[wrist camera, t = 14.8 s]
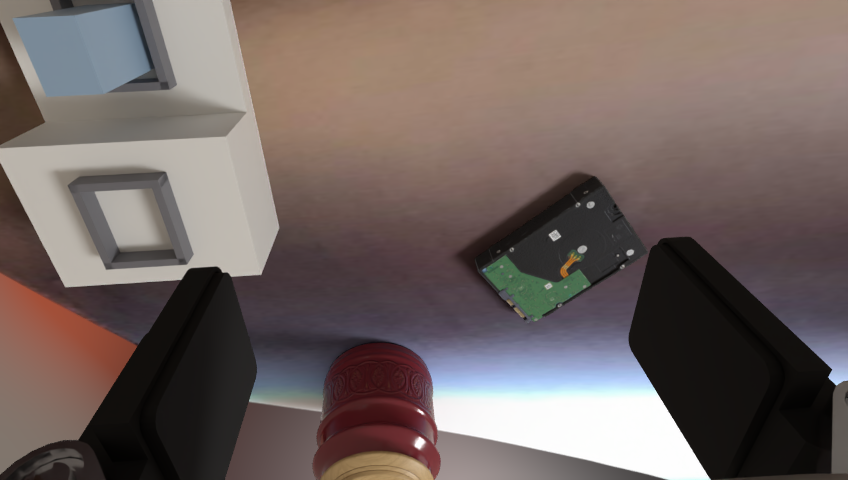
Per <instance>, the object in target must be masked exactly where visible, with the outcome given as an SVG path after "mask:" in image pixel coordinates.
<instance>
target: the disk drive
mask: <svg viewBox="0 0 848 480" xmlns="http://www.w3.org/2000/svg"><path fill="white" fill-rule="evenodd" d="M647 253H648V251H647V249H646V247H645V246H644V244H643V243H642V242H641V240H640V239H639V237H638V236H637V234H636V233H635V231H634V230H633V228H632V226H631V225H630V223H629V222H628V221H627V219H626V217H625V216H624V215H623V213H622V212H621V210H620V209H619V208H618V206H617V205H616V204H615V202H614V199H613V198H612V197H611V195H610V194H609V192H608V191H607V189H606V188H605V186H604V185H603V184H602V183H601V182H600V181H599V180H598V179H597V177H595V176H594V177H592V178H591V179H590V180H588V181H587V182H585V183H584V184H582V185H580V186H579V187H577V188H576V189H574V190H573V191H571V192H570V193H569V194H568V195H566V196H565V197H564V198H562V199H561V200H559V201H558V202H556V203H555V204H554V205H552V206H551V207H549V208H548V209H546V210H545V211H543V212H542V213H540V214H539V215H538V216H536V217H534V218H533V219H532V220H530V221H529V222H527V223H526V224H524V225H523V226H522V227H520V228H519V229H517V230H516V231H514V232H513V233H511V234H510V235H508V236H507V237H505V238H504V239H503V240H501V241H500V242H497V243H496V244H494V245H493V246H491V247H490V248H489V249H488V250H486V251H485V252H483V253H482V254H480V255H479V256H478V257H476V258H475V263H476V267H477V270H478V272H479V273H480V274H481V275H482V276H483V277H484V278H485V280H486V281H487V282H488V283H489V284H490V285H491V286H492V287H493V288H494V289H495V290H496V291H497V292H498V294H499V295H500V296H501V297H502V298H503V299H504V300H505V301H506V302H507V303H508V304H509V305H510V306H511V307H513V309H514V310H515V311H516V312H517V313H518V314H519V315H520V316H521V317H522V318H523V319H524V320H525V321H524V322H526V323H530V322H531V321H532V320H533V321H534V322H535V321H537V320H539V319H540V318H542V317H546V316H547V315H549V314H551V313H553V312H554V311H555V310H557V309H558V308H560V307H561V306H563V305H565V304H566V303H568V302H570V301H572V300H573V299H575V298H576V297H578V296H579V295H581V294H583V293H584V292H586V291H588V290H589V289H591V288H592V287H594V286H595V285H597V284H599V283H601V282H602V281H604V280H606V279H607V278H609V277H610V276H612V275H614V274H615V273H617V272H618V271H620V270H622V269H623V268H625V267H627V266H629V265H631V264H632V263H634V262H635V261H637V260H638V259H640V258H641V257H642V256H644V255H645V254H647Z"/></svg>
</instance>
